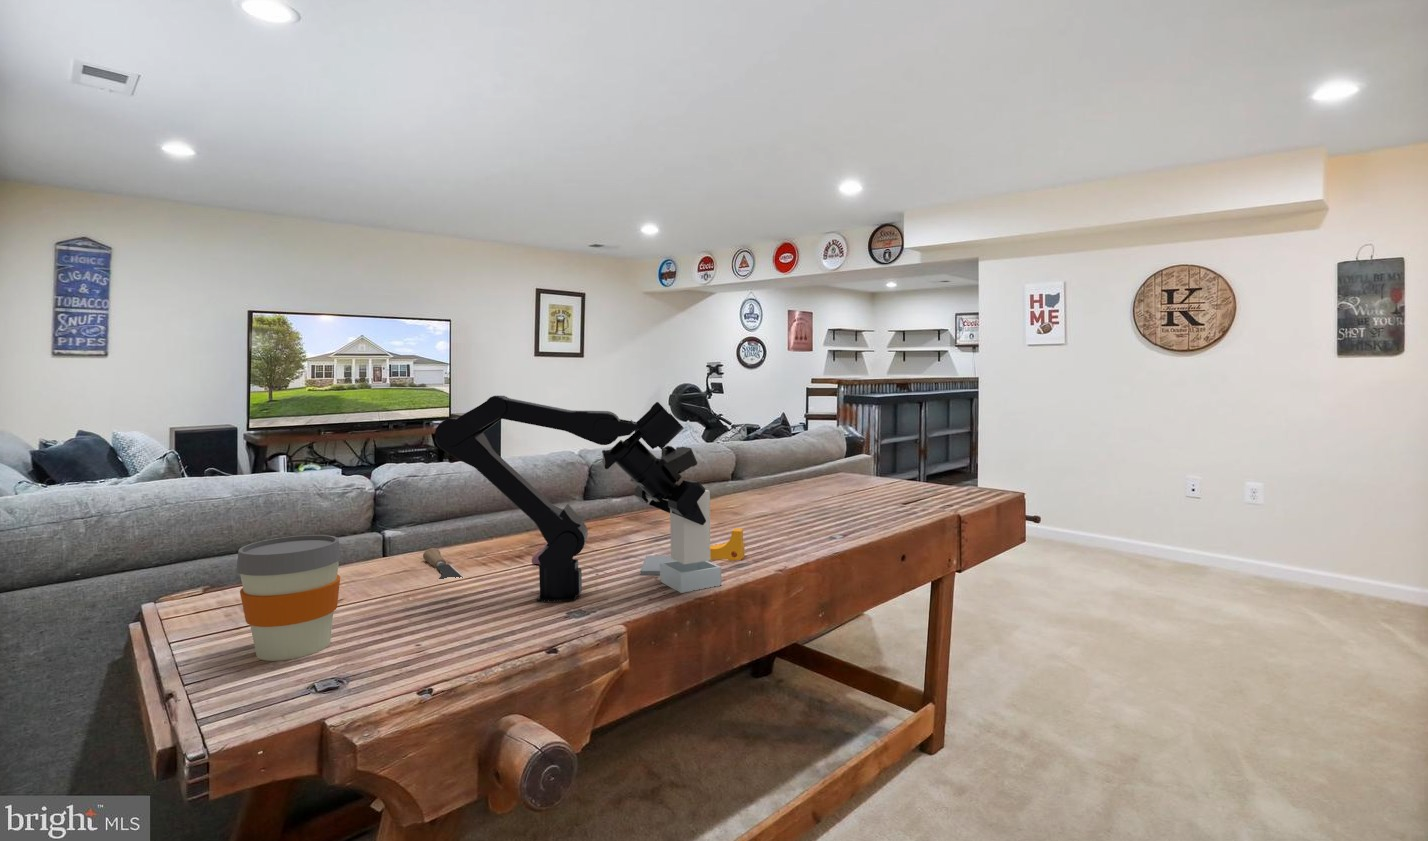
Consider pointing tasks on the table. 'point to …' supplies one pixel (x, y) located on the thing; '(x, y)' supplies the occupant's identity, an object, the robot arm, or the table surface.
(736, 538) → the pipe clamp
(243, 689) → the table surface
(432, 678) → the table surface
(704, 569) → the sleeve
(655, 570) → the mat
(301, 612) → the reusable coffee cup
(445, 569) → the hand tool
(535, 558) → the video game controller
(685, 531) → the tall block
